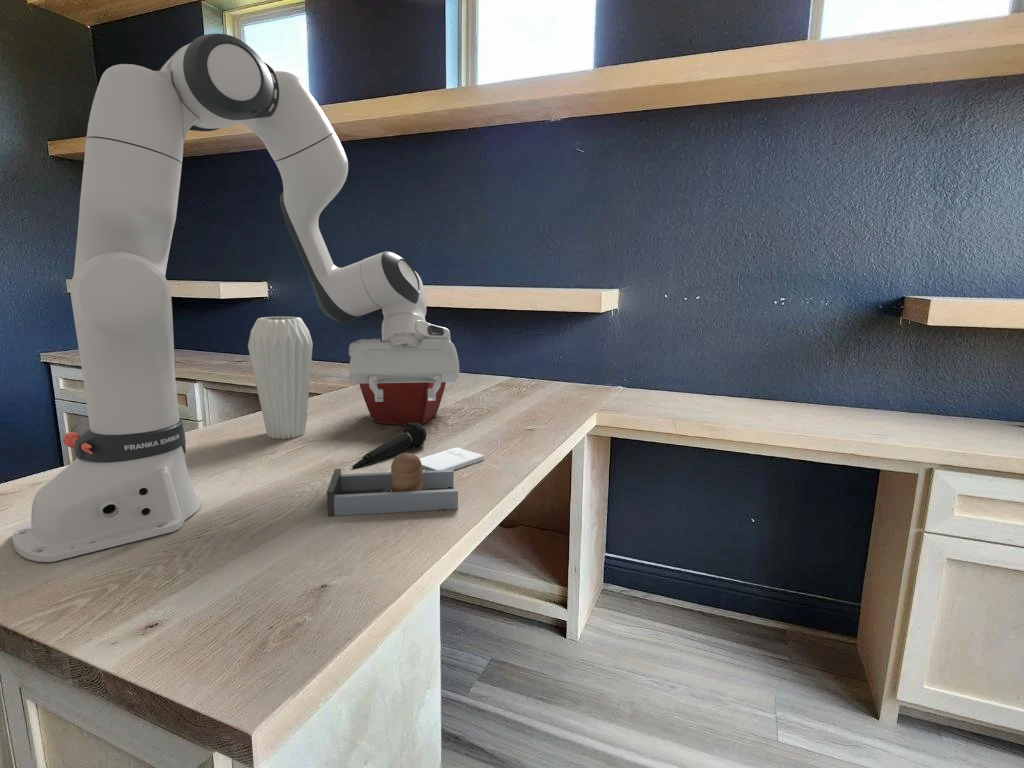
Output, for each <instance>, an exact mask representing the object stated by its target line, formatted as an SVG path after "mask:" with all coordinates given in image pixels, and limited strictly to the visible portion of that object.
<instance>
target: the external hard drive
mask: <svg viewBox="0 0 1024 768" xmlns="http://www.w3.org/2000/svg"><path fill="white" fill-rule="evenodd" d="M419 459H420V461H421V464H422V471H423V470H425V471H431V470H455V469H457V470H459V469H458V468H460V467H463V466H466V465H468V464H471V463H474V462H476V461H479V460H482V459H484V460H485V455H483V454H482V453H478V452H474V451H471V450H467V449H464V448H460V447H458V446H457V447H453V448H449V449H446V450H444V451H443V450H442V451H440V452H436V453H433V454H430V455H427V456H423V457H420V458H419ZM474 464H475V463H474ZM471 465H472V464H471ZM466 467H467V466H466ZM463 468H464V467H463ZM460 469H461V468H460ZM455 471H456V470H455Z"/></svg>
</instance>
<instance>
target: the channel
mask: <svg viewBox="0 0 1024 768" xmlns="http://www.w3.org/2000/svg"><path fill="white" fill-rule="evenodd" d="M454 472H455V471H453V470H431V471H423V470H422V491H404V492H392V491H388V490H392V484H391V471H390V472H389V471H388V472H387V471H386V472H369V473H362V472H361V473H347V474H346V473H344V474H342V469H341V468H334V470H333V473H332V477H331V479H330V482H329V484H328V488H327V490H326V499H327V500H326V502H327V503H326V504H327V516H328V517H335V516H336V517H337V516H354V515H373V514H388V513H392V514H393V513H409V512H410V511H411V512H423V511H425V510H426V512H427V510H428V511H440V510H439V509H446V510H455V509H454V508H458V509H459V490H458V488H455V487H454V483H455V481H454ZM448 487H454V488H448ZM429 488H438V489H429ZM383 491H384V492H383Z"/></svg>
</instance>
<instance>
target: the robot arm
mask: <svg viewBox="0 0 1024 768" xmlns="http://www.w3.org/2000/svg"><path fill="white" fill-rule="evenodd" d="M90 109H91V110H90V113H89V117H88V123H87V131H86V139H85V149H84V160H83V170H82V177H81V178H82V181H81V188H80V200H79V211H78V223H77V224H78V225H77V235H76V236H77V237H76V247H75V258H74V270H73V276H72V279H71V282H70V287H69V288H70V290H69V291H70V299H71V300H70V301H71V306H72V308H71V309H72V313H73V319H74V327H75V333H76V340H77V346H78V352H79V358H80V359H79V361H80V367H81V372H82V380H83V387H84V393H85V402H86V409H87V416H88V423H89V429H87V430H86V431H85V432H84V433H82V434H81V435H80V434H78V433H76V432H73V431H70V432H67V433H65V434H64V436H63V437H62V439H61V441H62V443H63V444H64V445H65V446H67V447H68V448H71V449H74V450H75V451H74V452H75V456H76V458H75V460H73V461H72V462H71V463H69V465H67V466H66V467H65V468H63V469H62V470H61V471H60V472H59V473H58V474H57V475H55V476H54V477H53V478H52V479H50V480H49V481H48V482H47V483H46V484H44V485H43V486H41V488H39V490H38V491H36V494H35V495H34V497H33V500H32V505H31V514H30V522H27V523H24V524H22V525H19V527H18V528H16V529H15V531H14V532H13V533H12V547H13V549H14V551H15V552H16V553H17V554H18V555H19V556H21V557H23V558H25V559H26V560H29V561H33V562H40V563H53V562H58V561H61V560H62V561H63V560H65V559H70V558H74V557H77V556H81V555H86V554H89V553H90V554H91V553H93V552H94V553H95V552H97V551H98V552H99V551H100V550H102V551H103V550H104V549H108V548H114V547H118V546H121V545H125V544H129V543H133V542H138V541H141V540H144V539H149V538H150V539H151V538H153V537H157V536H161V535H165V534H169V533H173V532H176V531H178V530H179V529H181V528H182V525H183V524H184V522H185V521H186V520H187V519H189V518H190V517H191V516H193V515H194V514H195V513H196V512H197V511H198V510H199V509H200V507H201V502H200V500H199V498H198V496H197V494H196V491H195V489H194V487H193V483H192V481H191V477H190V474H189V470H188V466H187V462H186V457H185V456H186V455H185V454H186V452H187V450H186V444H187V443H186V441H187V440H186V433H185V428H184V421H183V420H182V419H181V418H180V414H179V403H178V402H179V401H178V392H177V384H176V374H175V371H176V370H175V343H174V342H175V340H174V338H175V337H174V321H173V317H174V316H173V304H172V303H173V302H172V290H171V286H170V285H169V281H168V279H167V278H166V273H167V268H168V266H167V265H168V261H169V255H170V249H171V245H172V239H173V235H174V234H173V233H174V229H175V224H176V221H177V220H176V219H177V214H178V213H177V211H178V202H179V196H180V194H179V193H180V187H181V177H182V168H183V167H182V166H183V159H184V158H183V156H184V145H185V144H184V143H185V142H186V138H187V135H188V133H189V131H194V132H195V131H197V132H212V131H217V130H220V129H226V128H231V127H234V126H237V125H238V124H242V125H244V126H245V127H247V128H249V129H250V130H251V131H252V132H253V133H255V134H256V135H257V136H258V138H259V139H260V140H261V142H263V144H264V146H265V147H266V150H267V152H268V153H269V156H270V157H271V158H272V160H273V162H274V163H275V165H276V167H277V170H278V171H279V174H280V177H281V181H282V187H283V191H282V193H281V194H280V197H279V206H280V208H281V212H282V215H283V218H284V221H285V223H286V224H285V225H287V228H288V231H289V233H290V236H291V238H292V239H293V243H294V244H295V247H296V249H297V251H298V253H299V256H300V258H301V260H302V263H303V265H304V267H305V270H306V272H307V274H308V276H309V279H310V281H311V284H312V288H313V291H314V294H315V297H316V301H317V303H318V306H319V307H320V309H321V311H322V312H323V314H324V315H326V316H327V317H328V318H330V319H332V320H334V321H336V322H339V323H343V324H348V323H350V322H352V321H354V320H356V319H358V318H361V317H363V316H364V315H367V314H370V313H372V312H375V311H378V310H382V315H383V320H382V323H381V338H367V339H366V338H359V339H357V340H355V341H353V342H351V343H350V344H349V346H348V355H349V357H350V361H349V366H348V373H349V374H348V375H349V379H350V380H351V382H353V383H354V384H358V385H360V384H362V383H369V387H370V389H371V390H372V392H373V393H374V394H375V402H383V389H378V388H377V383H426V382H433V388H428V401H436V393H437V391H438V390H439V388H440V387H441V382H446V383H455V382H456V381H457V380H458V379H459V377H460V361H459V356H458V352H457V348H456V346H455V344H454V343H453V342H452V341H451V340H452V339H451V332H450V330H449V329H448V328H446V327H444V326H439V325H436V324H431V323H429V322H427V321H426V315H427V298H426V292H425V291H426V290H425V287H424V284H423V280H422V278H421V277H420V275H419V274H418V272H417V271H415V270H414V268H413V267H412V265H411V264H410V263H409V262H408V261H407V260H406V258H403V257H401V256H400V255H398V254H396V253H395V252H393V251H392V252H391V251H389V250H388V251H383V252H379V253H376V254H375V255H372V256H369V257H366V258H364V259H362V260H359V261H357V262H354V263H351V264H349V265H346V266H343V267H339V266H337V265H335V264H334V262H333V259H332V257H331V255H330V252H329V250H328V247H327V245H326V243H325V240H324V238H323V235H322V233H321V230H320V227H319V219H320V215H321V213H322V212H323V210H324V209H325V208H326V207H327V206H328V205H329V203H330V202H331V201H333V200H334V199H335V197H336V196H337V195H338V194H339V192H340V191H341V189H342V188H343V186H344V185H345V182H346V181H347V178H348V174H349V173H348V172H349V161H348V157H347V154H346V152H345V149H344V147H343V144H342V142H341V141H340V138H339V137H338V135H337V133H336V131H335V130H334V128H333V126H332V125H331V123H330V121H329V119H328V117H327V116H326V115H325V112H324V111H323V109H322V108H321V106H320V105H319V103H318V101H317V100H316V99H315V97H314V96H313V95H312V93H311V92H310V91H309V89H308V88H307V87H306V85H305V84H304V82H302V80H301V79H300V78H299V77H297V76H296V75H295V74H293V73H290V72H288V71H284V70H283V71H279V70H276V71H275V70H274V69H273V68H272V67H271V66H270V65H268V63H266V62H265V61H264V60H263V59H262V58H261V56H260V55H259V54H258V53H257V52H256V51H255V50H254V49H253V48H252V47H250V46H249V45H248V44H247V43H245V42H244V41H242V40H241V39H239V38H238V37H236V36H233V35H230V34H225V33H216V32H215V33H208V34H203V35H200V36H198V37H196V38H195V39H193V40H192V41H191V42H190V43H188V44H185V45H184V46H181V47H180V48H179V49H178V50H176V51H175V52H174V53H173V55H172V56H170V58H169V59H168V60H167V61H166V62H165V63H163V65H161V67H159V69H158V70H152V69H150V68H147V67H145V66H142V65H137V64H133V63H132V64H129V63H119V64H116V65H112V66H110V67H108V68H107V69H105V71H104V72H103V73H102V75H101V77H100V79H99V83H98V86H97V88H96V91H95V94H94V97H93V99H92V104H91V108H90Z"/></svg>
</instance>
